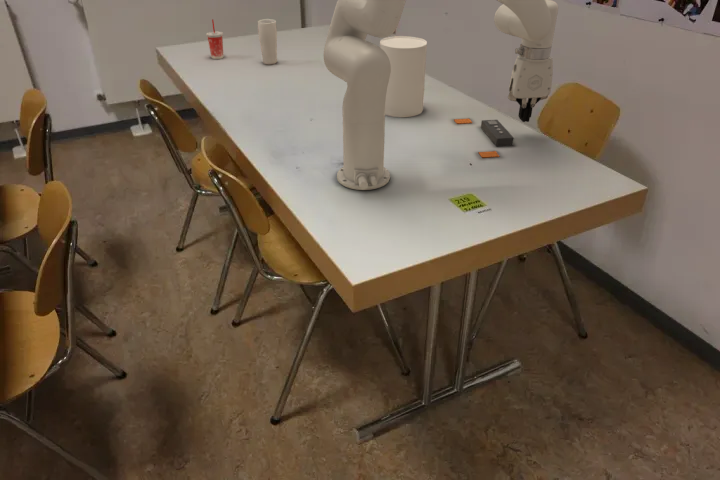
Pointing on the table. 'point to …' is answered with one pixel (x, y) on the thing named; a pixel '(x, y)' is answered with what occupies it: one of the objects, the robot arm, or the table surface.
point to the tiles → (482, 154)
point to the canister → (405, 75)
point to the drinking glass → (268, 40)
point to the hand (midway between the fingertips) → (524, 120)
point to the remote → (497, 132)
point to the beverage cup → (215, 43)
